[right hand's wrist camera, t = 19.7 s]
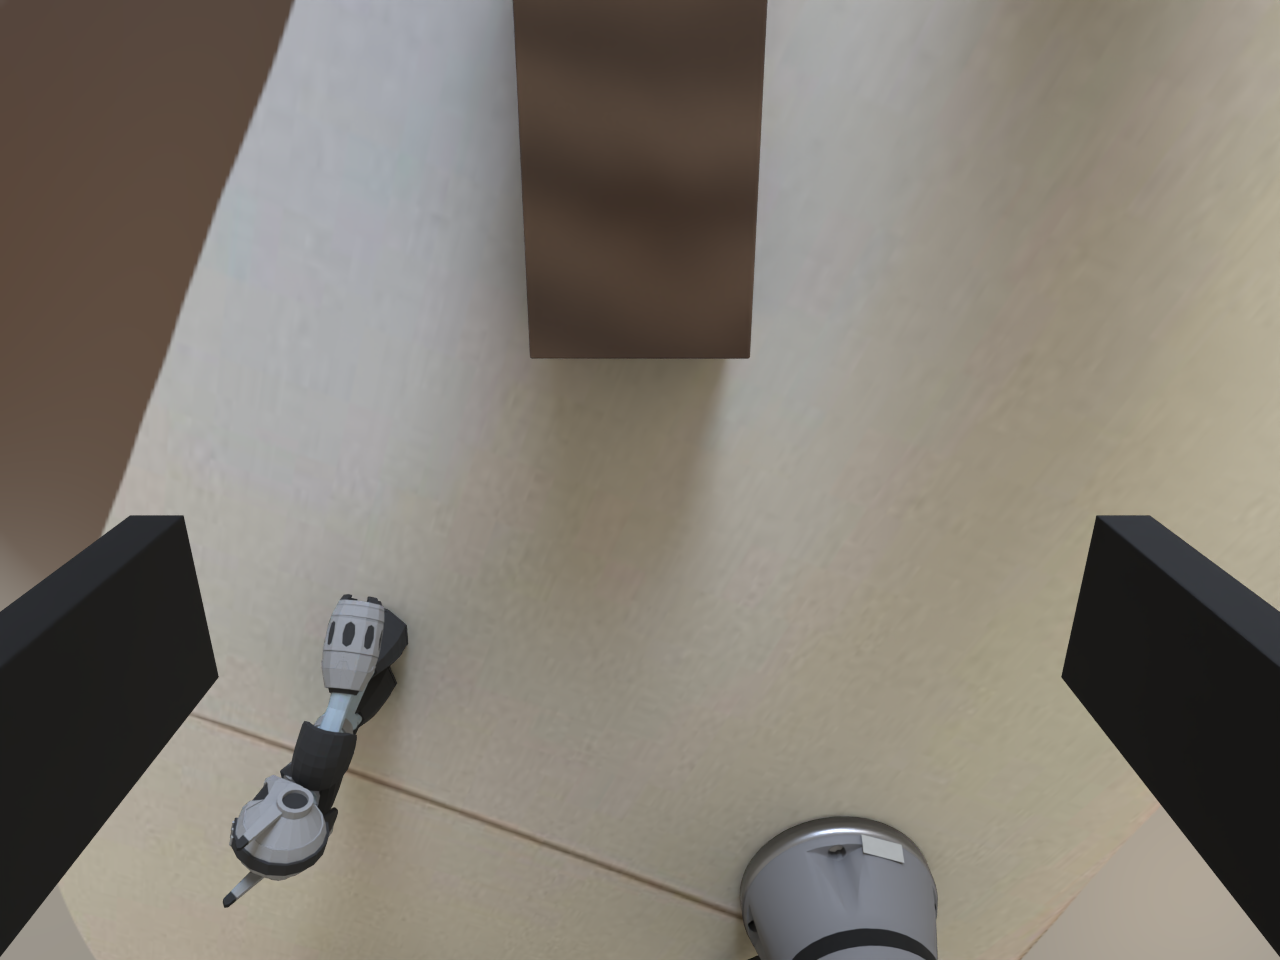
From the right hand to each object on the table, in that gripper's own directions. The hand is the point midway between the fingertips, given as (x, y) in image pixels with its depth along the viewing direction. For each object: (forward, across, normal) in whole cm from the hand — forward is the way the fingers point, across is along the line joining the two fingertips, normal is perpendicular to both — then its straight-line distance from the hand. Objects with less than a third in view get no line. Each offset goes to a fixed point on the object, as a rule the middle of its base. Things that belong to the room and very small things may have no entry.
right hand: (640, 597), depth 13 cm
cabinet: (+41, 0, -4) cm, 41 cm away
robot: (+41, +19, +28) cm, 53 cm away
